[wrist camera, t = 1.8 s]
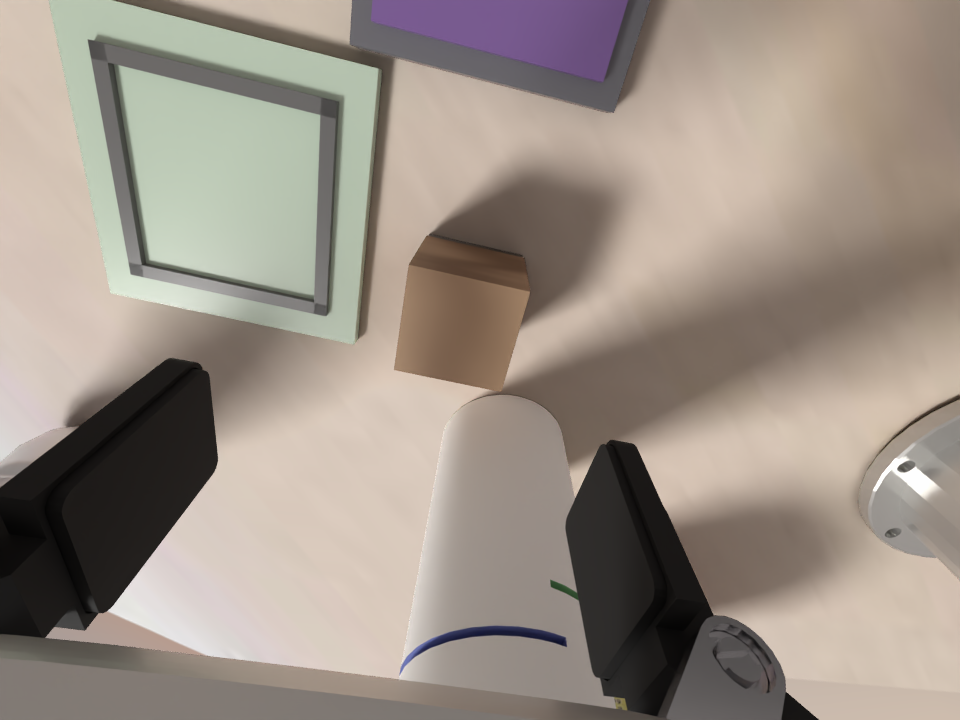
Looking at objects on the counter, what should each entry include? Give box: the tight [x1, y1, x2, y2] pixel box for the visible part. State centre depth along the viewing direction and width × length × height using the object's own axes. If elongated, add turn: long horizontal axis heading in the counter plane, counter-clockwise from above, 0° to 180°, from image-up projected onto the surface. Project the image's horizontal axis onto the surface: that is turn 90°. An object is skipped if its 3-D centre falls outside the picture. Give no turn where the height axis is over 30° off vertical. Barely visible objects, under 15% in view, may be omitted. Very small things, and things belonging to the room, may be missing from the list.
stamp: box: [394, 234, 530, 392], centre depth 19 cm, size 4×4×5 cm
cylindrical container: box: [399, 395, 616, 709], centre depth 15 cm, size 7×7×25 cm
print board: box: [49, 0, 382, 345], centre depth 19 cm, size 12×12×1 cm
